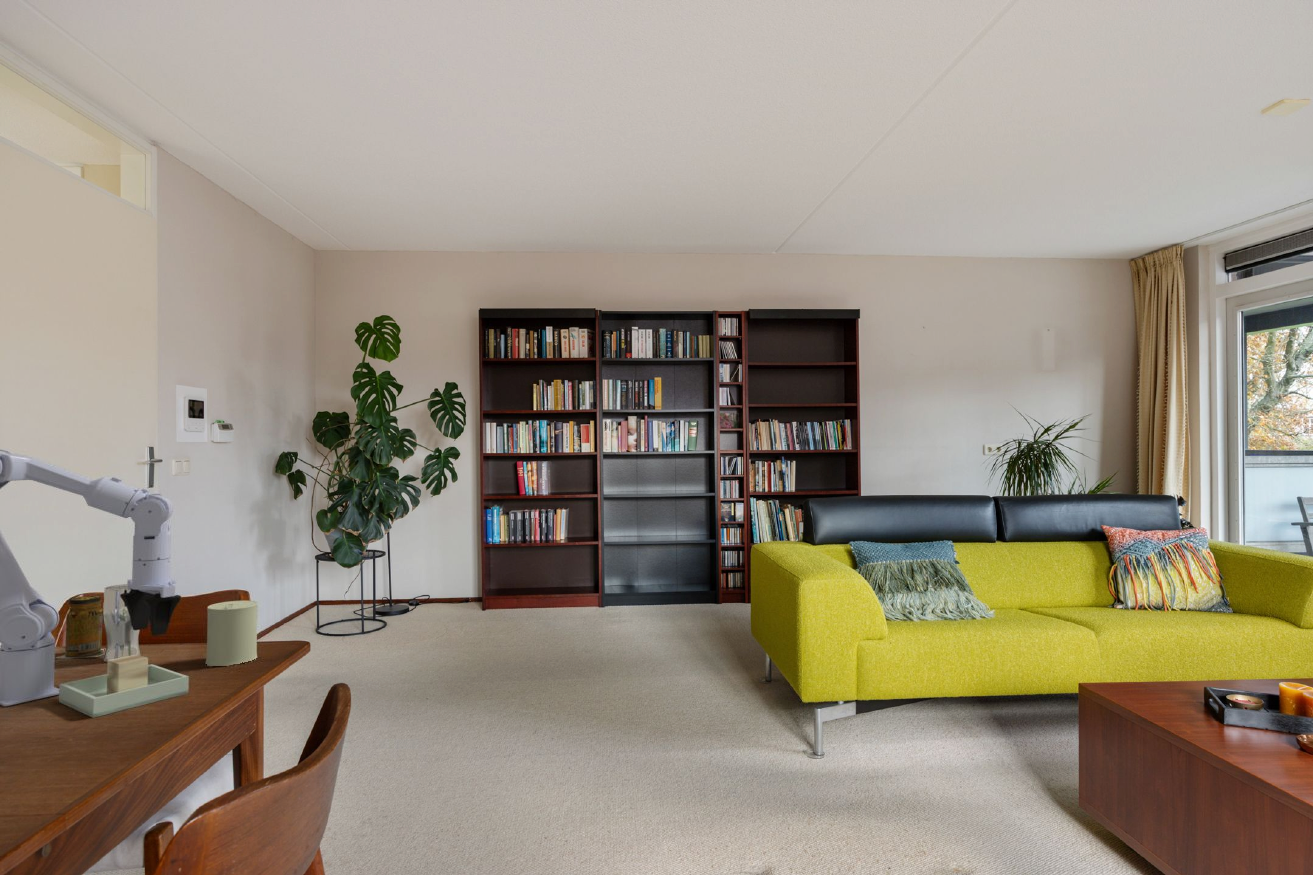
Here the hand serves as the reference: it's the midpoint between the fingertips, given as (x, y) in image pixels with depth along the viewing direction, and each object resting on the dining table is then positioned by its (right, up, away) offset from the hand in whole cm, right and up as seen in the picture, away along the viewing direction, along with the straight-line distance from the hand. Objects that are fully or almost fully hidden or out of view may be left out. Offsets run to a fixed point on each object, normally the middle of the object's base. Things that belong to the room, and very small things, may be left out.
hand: (149, 631), depth 131 cm
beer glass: (-17, -10, +16) cm, 25 cm away
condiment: (-27, -10, +19) cm, 34 cm away
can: (+7, -10, +14) cm, 19 cm away
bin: (+2, -9, -9) cm, 13 cm away
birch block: (+2, -9, -8) cm, 12 cm away
